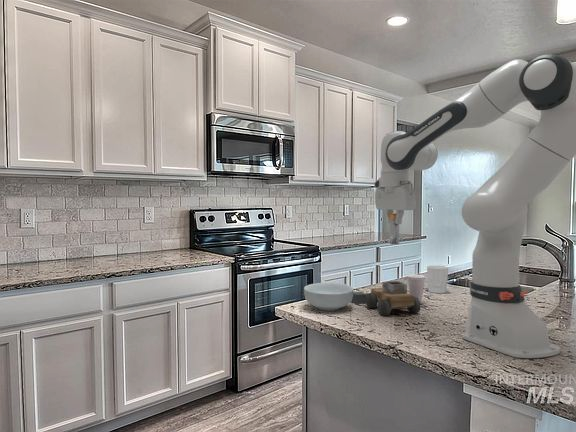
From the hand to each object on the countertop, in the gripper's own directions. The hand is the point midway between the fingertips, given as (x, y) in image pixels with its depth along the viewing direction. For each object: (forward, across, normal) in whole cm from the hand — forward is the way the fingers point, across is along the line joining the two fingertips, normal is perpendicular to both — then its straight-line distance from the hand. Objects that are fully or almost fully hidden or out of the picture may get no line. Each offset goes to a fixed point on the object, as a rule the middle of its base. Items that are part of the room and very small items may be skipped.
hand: (394, 223), depth 133 cm
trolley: (+29, 0, +1) cm, 29 cm away
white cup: (+29, +19, -30) cm, 46 cm away
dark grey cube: (+29, +13, +7) cm, 32 cm away
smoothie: (+29, +6, -12) cm, 32 cm away
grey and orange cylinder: (+7, 0, 0) cm, 7 cm away
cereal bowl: (+29, +9, +20) cm, 36 cm away
